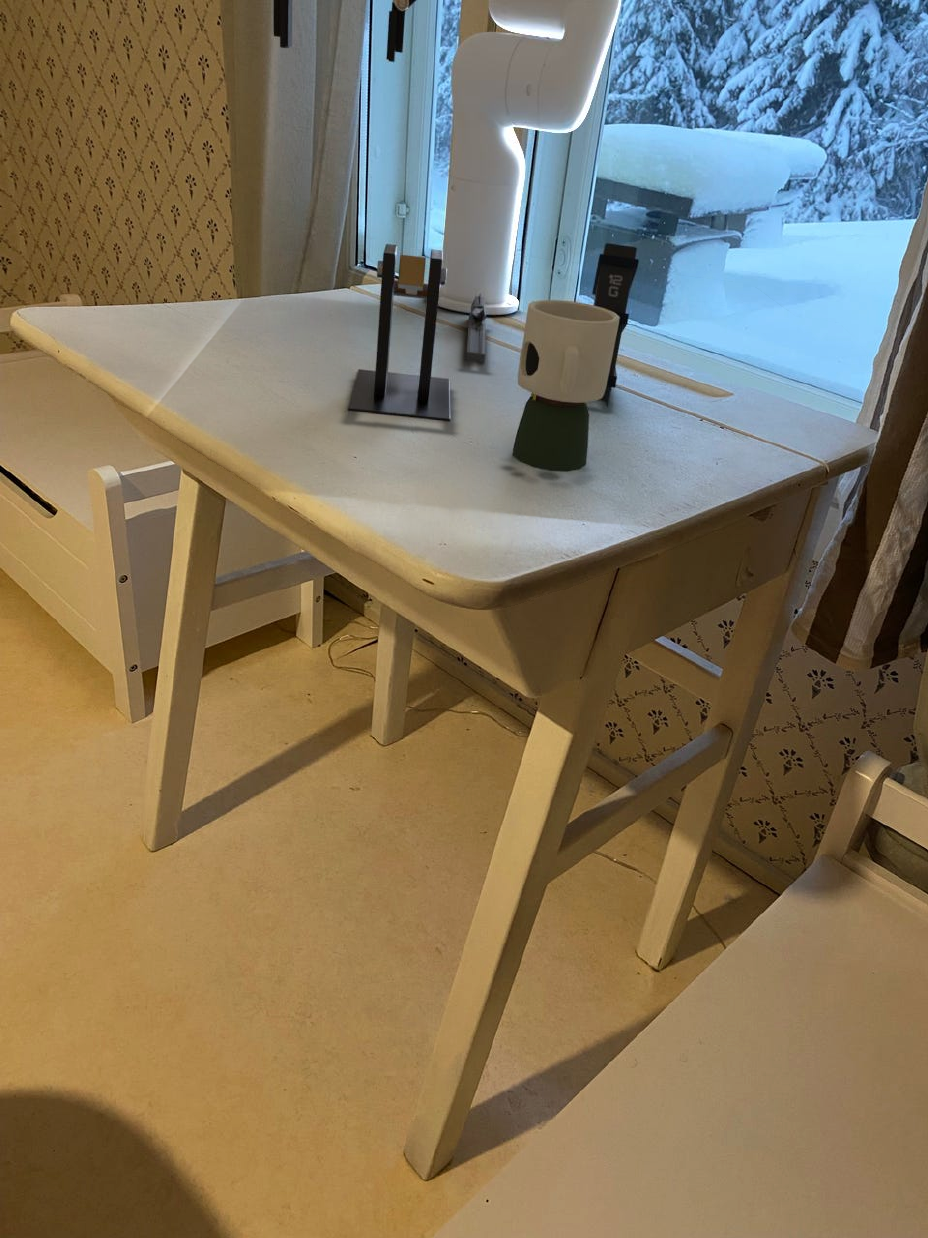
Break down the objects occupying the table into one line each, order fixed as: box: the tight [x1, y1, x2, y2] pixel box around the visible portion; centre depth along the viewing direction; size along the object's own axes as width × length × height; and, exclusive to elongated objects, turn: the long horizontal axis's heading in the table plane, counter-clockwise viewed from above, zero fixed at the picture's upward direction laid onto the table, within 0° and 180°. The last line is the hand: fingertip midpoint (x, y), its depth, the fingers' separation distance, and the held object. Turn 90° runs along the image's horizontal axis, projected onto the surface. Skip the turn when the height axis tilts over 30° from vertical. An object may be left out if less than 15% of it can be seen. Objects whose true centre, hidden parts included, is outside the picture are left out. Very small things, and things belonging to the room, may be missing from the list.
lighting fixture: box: [465, 294, 487, 364], centre depth 107 cm, size 19×3×4 cm, turn 179°
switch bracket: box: [347, 243, 451, 422], centre depth 84 cm, size 12×9×14 cm
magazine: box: [591, 242, 640, 408], centre depth 95 cm, size 4×13×15 cm, turn 172°
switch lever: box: [394, 254, 440, 300], centre depth 86 cm, size 13×6×2 cm, turn 1°
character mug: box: [512, 299, 620, 473], centre depth 75 cm, size 11×7×13 cm, turn 177°
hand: (338, 54), depth 86 cm, fingers open, 9 cm apart
